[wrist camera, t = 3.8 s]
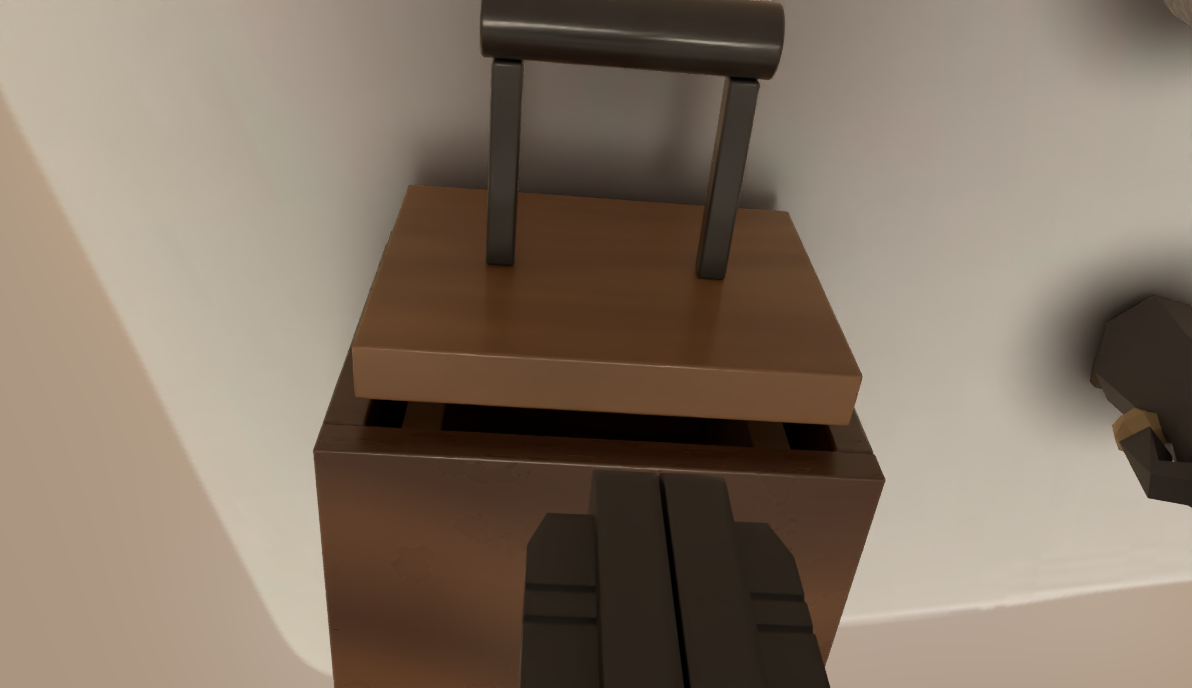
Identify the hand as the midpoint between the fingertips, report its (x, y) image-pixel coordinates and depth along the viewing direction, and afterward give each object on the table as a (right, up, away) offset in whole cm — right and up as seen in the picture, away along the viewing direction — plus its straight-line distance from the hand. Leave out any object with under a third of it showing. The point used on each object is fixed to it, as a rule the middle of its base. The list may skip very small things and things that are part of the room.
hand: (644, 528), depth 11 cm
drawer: (-1, +4, +13) cm, 14 cm away
